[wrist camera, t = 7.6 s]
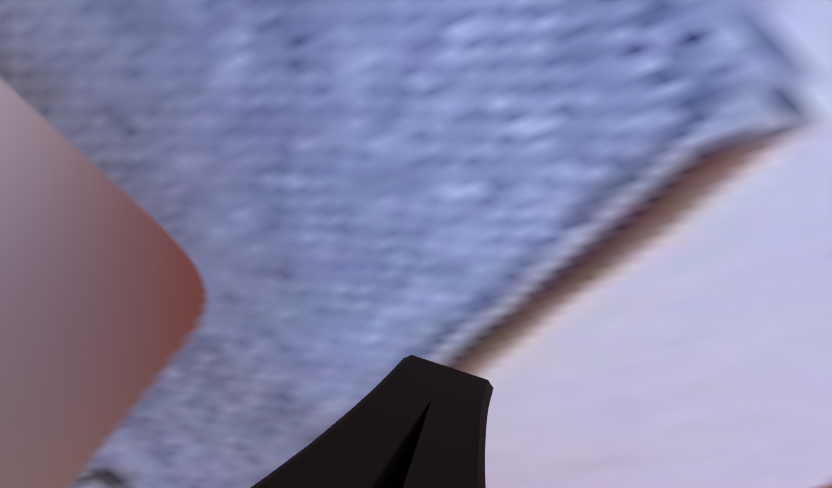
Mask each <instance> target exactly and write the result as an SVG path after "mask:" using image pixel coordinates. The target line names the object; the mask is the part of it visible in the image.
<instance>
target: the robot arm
mask: <svg viewBox="0 0 832 488" xmlns="http://www.w3.org/2000/svg"><path fill="white" fill-rule="evenodd" d="M492 391H493V387H492V386H491V384H490V382H489V381H488V380H486V379H483V378H480V377H477V376H474V375H471V374H468V373H465V372H462V371H459V370H456V369H453V368H450V367H447V366H444V365H440V364H437V363H434V362H431V361H428V360H425V359H422V358H419V357H416V356H413V355H410V356H408V357H406V358H403V360H402V361H401V362H400V363H399V364H398V365H397V366H396V367H395V368H394V369H393V370H392V371H391V372H390V373H389V374H388V375H387V376H386V377H385V378H384V379H383V380H382V381H381V382H380V383H379V384H378V385H377V386H376V387H375V388H374V389H373V390H372V391H371V392H370V393H369V394H368V395H367V396H365V397H364V398H363V399H362V400H361V401H360V402H359V403H358V404H357V405H356V406H355V407H353V408H352V409H351V410H350V411H349V412H348V413H346V414H345V415H344V416H343V417H342V418H340V419H339V420H338V421H337V422H336V423H335V424H333V425H332V426H331V427H330V428H329V429H327V430H326V431H325V432H324V433H323V434H322V435H320V436H319V437H318V438H317V439H315V440H314V441H313V442H312V443H310V444H309V445H308V446H307V447H305V448H304V449H303V450H301V451H300V452H299V453H297V454H296V455H295V456H293V457H292V458H291V459H289V460H288V461H287V462H285V463H284V464H283V465H281V466H280V467H279V468H277V469H276V470H275V471H273V472H272V473H271V474H269V475H268V476H267V477H265V478H264V479H262V480H261V481H259V482H258V483H257V484H255V485H254V486H252V487H251V488H485V438H486V423H487V414H488V407H489V402H490V399H491V395H492Z"/></svg>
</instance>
